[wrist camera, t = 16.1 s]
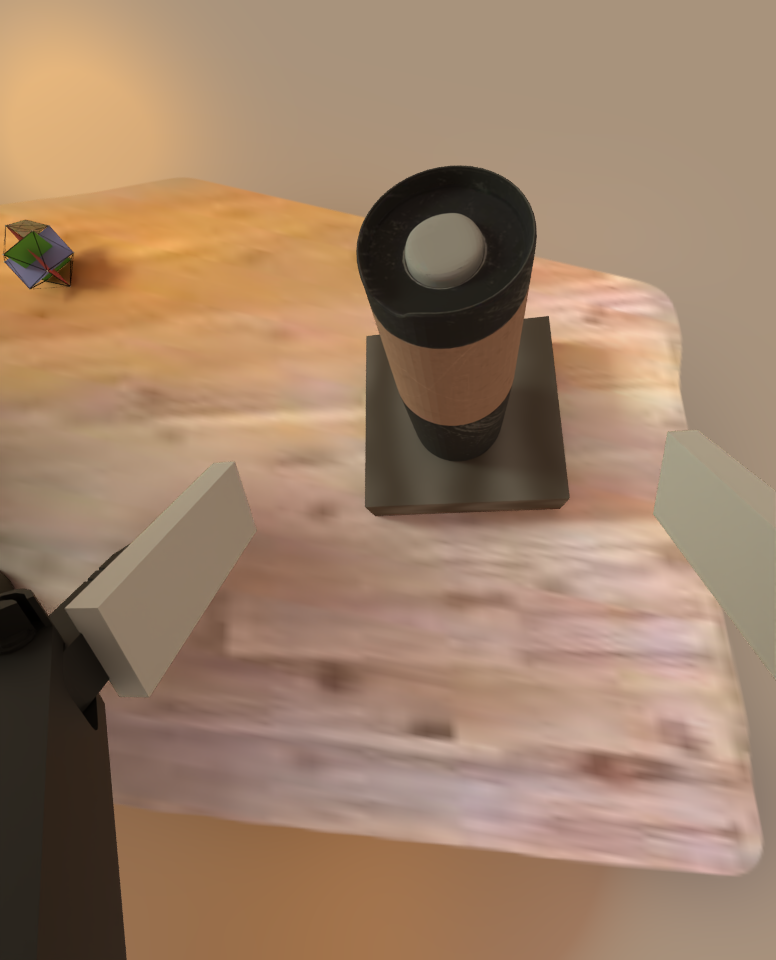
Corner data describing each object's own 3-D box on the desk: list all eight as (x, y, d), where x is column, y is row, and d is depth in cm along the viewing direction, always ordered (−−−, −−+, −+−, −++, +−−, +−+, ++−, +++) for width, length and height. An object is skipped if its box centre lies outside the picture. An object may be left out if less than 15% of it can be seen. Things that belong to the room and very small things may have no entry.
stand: (375, 515, 41) (365, 507, 37) (375, 358, 45) (366, 336, 41) (559, 508, 38) (569, 498, 34) (541, 341, 42) (548, 316, 38)
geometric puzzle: (88, 269, 52) (20, 202, 48) (42, 307, 52) (-31, 243, 48) (96, 268, 58) (36, 208, 54) (55, 302, 58) (-9, 245, 53)
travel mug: (501, 375, 38) (530, 147, 19) (509, 462, 36) (551, 304, 17) (411, 384, 39) (353, 179, 20) (413, 468, 37) (351, 329, 18)
